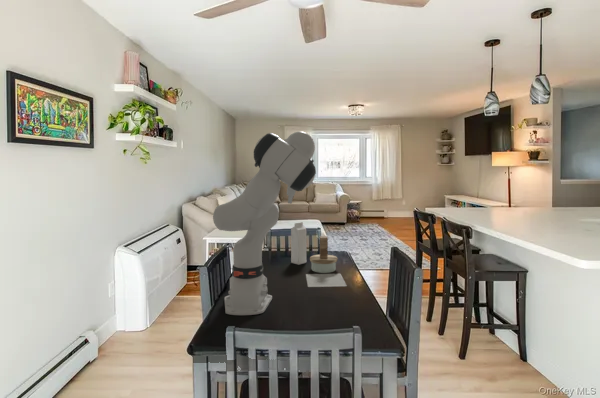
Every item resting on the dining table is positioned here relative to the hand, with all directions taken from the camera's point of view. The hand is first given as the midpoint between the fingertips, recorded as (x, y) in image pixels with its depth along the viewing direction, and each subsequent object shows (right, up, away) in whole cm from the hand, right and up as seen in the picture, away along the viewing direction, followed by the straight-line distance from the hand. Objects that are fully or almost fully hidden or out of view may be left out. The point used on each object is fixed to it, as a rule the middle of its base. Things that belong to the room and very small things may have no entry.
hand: (290, 200), depth 170 cm
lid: (+16, -30, +11) cm, 36 cm away
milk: (+4, -34, +25) cm, 43 cm away
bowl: (+16, -35, +12) cm, 41 cm away
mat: (+16, -37, -5) cm, 41 cm away
